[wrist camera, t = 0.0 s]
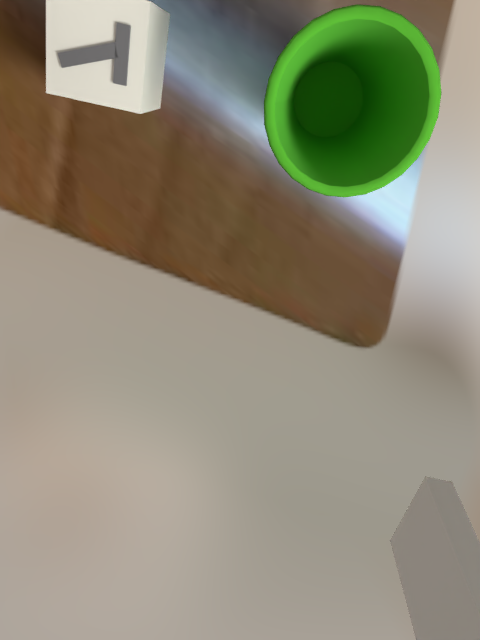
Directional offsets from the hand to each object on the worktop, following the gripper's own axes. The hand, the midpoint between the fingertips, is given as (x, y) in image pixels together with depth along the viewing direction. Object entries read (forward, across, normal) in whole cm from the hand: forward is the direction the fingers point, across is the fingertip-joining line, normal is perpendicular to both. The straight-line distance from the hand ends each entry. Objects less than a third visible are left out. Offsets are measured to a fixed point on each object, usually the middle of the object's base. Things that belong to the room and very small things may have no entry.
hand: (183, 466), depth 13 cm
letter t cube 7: (+28, -10, +9) cm, 31 cm away
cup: (+28, +5, +9) cm, 30 cm away
